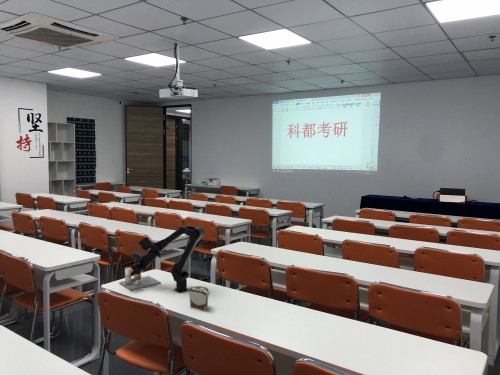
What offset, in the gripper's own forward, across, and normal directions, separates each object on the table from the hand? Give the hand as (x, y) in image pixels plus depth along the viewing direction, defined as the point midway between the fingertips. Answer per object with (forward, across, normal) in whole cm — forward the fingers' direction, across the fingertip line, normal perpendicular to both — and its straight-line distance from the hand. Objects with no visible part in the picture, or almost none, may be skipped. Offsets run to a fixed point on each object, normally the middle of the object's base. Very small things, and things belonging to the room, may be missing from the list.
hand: (131, 275), depth 226 cm
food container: (-28, +28, +38) cm, 55 cm away
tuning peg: (+4, -5, +3) cm, 7 cm away
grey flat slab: (+2, -5, +7) cm, 9 cm away
